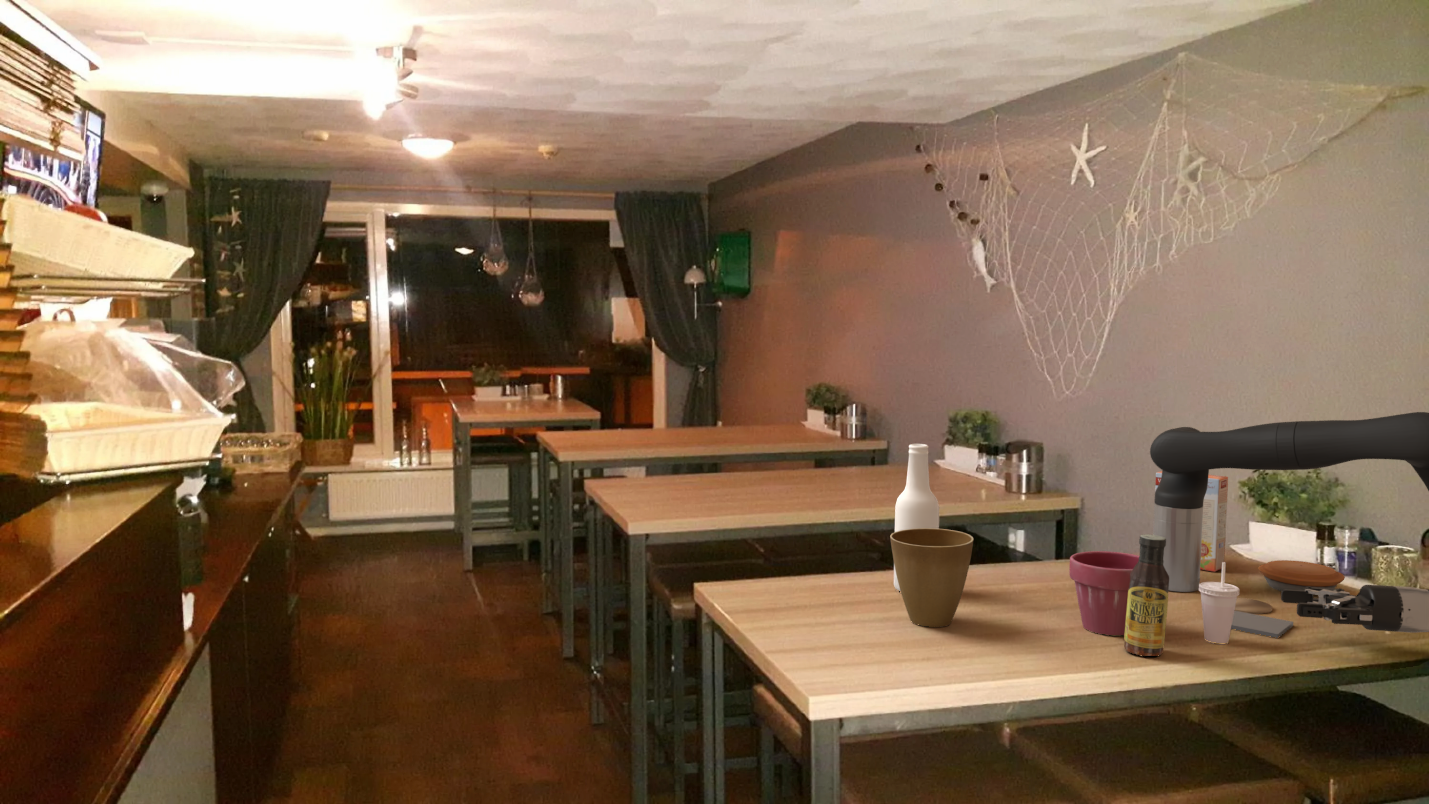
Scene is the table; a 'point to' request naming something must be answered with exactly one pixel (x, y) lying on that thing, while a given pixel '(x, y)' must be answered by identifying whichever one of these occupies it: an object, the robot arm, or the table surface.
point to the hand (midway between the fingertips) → (1289, 602)
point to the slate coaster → (1260, 624)
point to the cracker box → (1212, 522)
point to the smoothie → (1218, 608)
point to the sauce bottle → (1147, 599)
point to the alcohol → (916, 497)
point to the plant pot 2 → (1102, 589)
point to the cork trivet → (1252, 606)
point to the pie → (1299, 575)
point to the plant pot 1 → (931, 572)
